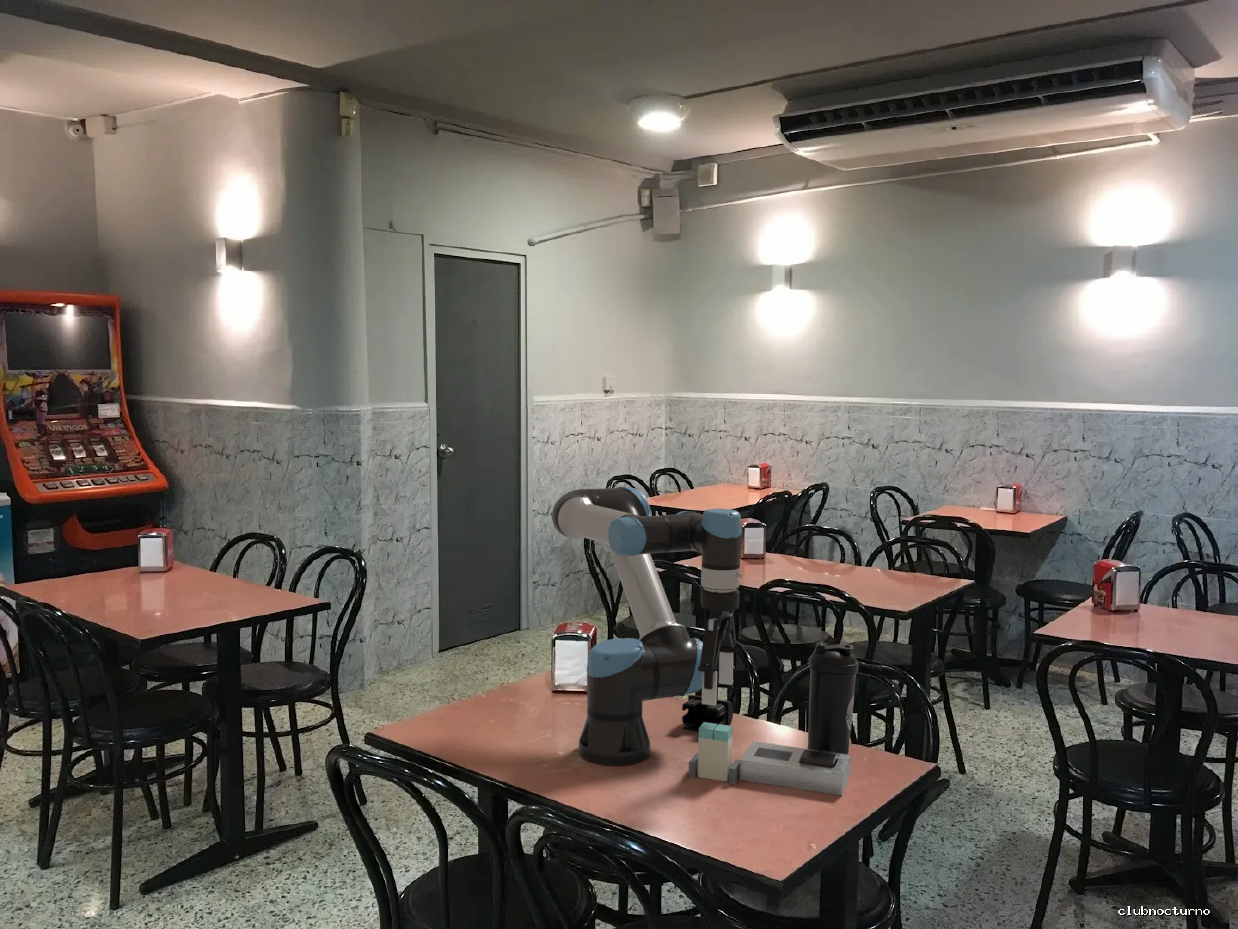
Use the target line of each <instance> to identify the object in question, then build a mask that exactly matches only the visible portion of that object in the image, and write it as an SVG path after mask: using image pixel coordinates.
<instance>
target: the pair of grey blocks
mask: <svg viewBox="0 0 1238 929" xmlns="http://www.w3.org/2000/svg"><path fill="white" fill-rule="evenodd" d="M739 773H740V759H736V758H735V759H734V761H732V765H731V766H730V768H729V780H728V784H733V785H735V784H736V783H737V781H738V780H739ZM696 776H698V752H696V753H695V754H694V755H693V756H692V757H691V759H690V760H689V761H688V778H696Z"/></svg>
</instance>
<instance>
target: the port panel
mask: <svg viewBox="0 0 1238 929" xmlns="http://www.w3.org/2000/svg"><path fill="white" fill-rule="evenodd" d="M851 758H852V757H851V754H848V755H847V754H840V753H833V752H826V751H819V750H812V749H808V748H803V747H798V746H796V747H795V746H789V745H782V744H775V743H768V742H761V741H754V740H753V741H751V742H750V744H749V746H748V747H747V749H746V750H745V751H744V753H743V755H742V756H741V758H740V759H739V760H740V773H739V778H738V780H741V781H747V782H754V783H757V784H758V783H760V784H767V785H773V786H779V787H785V788H792V789H799V790H804V791H805V790H806V791H810V792H817V793H823V794H829V795H837V796H843V794H844V792H845V790H846V788H847V787H846V786H847V783H848V781H849V778H850V775H851Z"/></svg>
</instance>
